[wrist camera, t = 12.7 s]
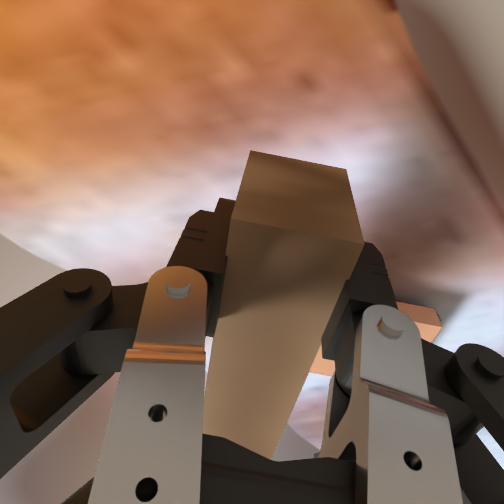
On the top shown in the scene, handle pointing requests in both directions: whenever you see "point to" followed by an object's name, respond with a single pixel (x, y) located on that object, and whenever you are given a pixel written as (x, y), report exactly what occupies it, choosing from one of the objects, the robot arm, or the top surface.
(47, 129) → the top surface
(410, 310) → the tile
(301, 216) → the block
